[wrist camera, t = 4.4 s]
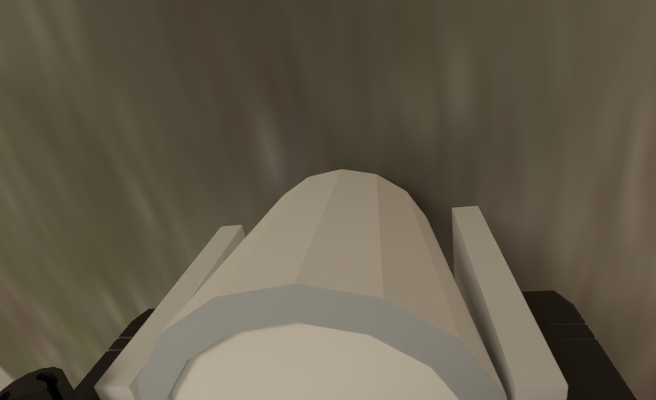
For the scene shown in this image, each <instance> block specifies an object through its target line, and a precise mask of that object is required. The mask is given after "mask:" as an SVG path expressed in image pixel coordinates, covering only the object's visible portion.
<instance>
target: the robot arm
mask: <svg viewBox="0 0 656 400" xmlns="http://www.w3.org/2000/svg"><path fill="white" fill-rule="evenodd" d="M452 225H453V255H454V280H455V282H456V284H457V286H458V288H459V291H460V293H461V295H462V297H463V300H464V302H465V304H466V306H467V308H468V311H469V313H470V315H471V317H472V320H473V322H474V324H475V326H476V328H477V331H478V333H479V335H480V337H481V340H482V342H483V344H484V346H485V348H486V351H487V353H488V355H489V357H490V360H491V362H492V364H493V366H494V368H495V371H496V373H497V375H498V377H499V380H500V382H501V384H502V386H503V388H504V391H505V393H506V395H507V400H637V399H636V398H635V397H634V395H633V394H632V392H631V391H630V389H629V388H628V386H627V385H626V383H625V382H624V380H623V379H622V377H621V376H620V374H619V373H618V371H617V370H616V368H615V367H614V365H613V364H612V362H611V361H610V359H609V358H608V356H607V355H606V353H605V352H604V350H603V349H602V347H601V346H600V344H599V343H598V341H597V340H595V338H594V335H593V333H592V332H591V330H590V329H589V327H588V326H587V325H585V321H584V320H583V318H582V317H581V315H580V314H579V312H578V311H577V309H576V308H575V306H574V305H573V304H572V303H570V302H569V301H568V300H566V299H565V298H564V297H562V296H561V295H559V294H558V293H557V292H555V291H531V292H521V291H520V289H519V287H518V285H517V283H516V281H515V279H514V277H513V275H512V273H511V271H510V269H509V267H508V265H507V263H506V261H505V259H504V257H503V255H502V253H501V251H500V249H499V247H498V245H497V243H496V241H495V239H494V237H493V235H492V233H491V231H490V229H489V227H488V225H487V223H486V221H485V219H484V217H483V215H482V213H481V211H480V209H479V207H478V206H469V207H457V208H452ZM245 238H246V237H245V233H244V230H243V226H242V225H234V226H221V228H220V229H219V230H218V231H217V233H216V234H215V235H214V236H213V238H212V239H211V240H210V241H209V243H208V244H207V245H206V246H205V248H204V249H203V250H202V251H201V253H200V254H199V255H198V256H197V258H196V259H195V260H194V261H193V263H192V264H191V265H190V266H189V268H188V269H187V270H186V272H185V273H184V274H183V275H182V277H181V278H180V279H179V280H178V282H177V283H176V284H175V285H174V287H173V288H172V289H171V290H170V292H169V293H168V294H167V295H166V297H165V298H164V299H163V300H162V302H161V303H160V304H159V305H158V307H157V308H156V309H148V310H147V311H145V312H144V313H143V314H141V315H140V316H139V317H137V318H136V319H135V320H133V321H132V322H131V323H130V324H129V325H128V327H127V328H126V329H125V330H124V331H123V333H122V334H121V335H120V336H119V339H117V340H116V341H115V342H114V343H113V344H112V346H111V347H110V348H109V352H106V353H105V354H104V355H103V356H102V357H101V359H100V360H99V361H98V362H97V363H96V365H95V366H94V367H93V368H92V369H91V371H90V372H89V373H88V374H87V375H86V376H85V378H84V379H83V380H82V381H81V382H80V384H79V385H78V386H77V387H76V388H75V390H73V388H72V386H71V385H70V383H69V381H68V379H67V377H66V376H65V374H64V372H63V370H62V369H59V368H56V367H50V368H43V369H39V370H36V371H34V372H31V373H28V374H26V375H24V376H23V377H21V378H19V379H17V380H16V381H14V382H12V383H11V384H9V385H8V386H7V387H6V388H4V389H3V390H2V391H1V392H0V400H141V396H140V389H139V381H138V380H139V378H140V376H141V373H142V371H143V369H144V367H145V365H146V363H147V361H148V358H149V356H150V354H151V352H152V350H153V348H154V346H155V344H156V341H157V339H158V337H159V335H160V333H161V332H162V331H163V330H164V328H165V327H166V326H167V325H168V324H169V323H170V322H171V321H172V320H173V318H174V317H175V316H176V315H177V314H178V313H179V312H180V311H181V309H182V308H183V307H184V306H185V305H186V304H187V303H188V302H189V300H190V299H191V298H192V297H193V296H194V295H195V294H196V293H197V291H198V290H199V289H200V288H201V287H202V286H203V285H204V284H205V282H206V281H207V280H208V279H209V278H210V277H211V276H212V275H213V274H214V272H215V271H216V270H217V269H218V268H219V267H220V266H221V265H222V263H223V262H224V261H225V260H226V259H227V258H228V257H229V256H230V254H231V253H232V252H233V251H234V250H235V249H236V248H237V247H238V245H239V244H240V243H241V242H242V241H243V240H244V239H245Z"/></svg>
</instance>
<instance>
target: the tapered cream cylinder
mask: <svg viewBox="0 0 656 400" xmlns="http://www.w3.org/2000/svg"><path fill="white" fill-rule="evenodd" d="M138 381H139V389H140V396H141V400H507V395H506V393H505V391H504V388H503V386H502V384H501V382H500V380H499V377H498V375H497V373H496V371H495V368H494V366H493V364H492V362H491V360H490V357H489V355H488V353H487V351H486V348H485V346H484V344H483V342H482V340H481V337H480V335H479V333H478V331H477V328H476V326H475V324H474V322H473V320H472V317H471V315H470V313H469V311H468V308H467V306H466V304H465V302H464V300H463V297H462V295H461V293H460V291H459V288H458V286H457V284H456V282H455V280H454V277H453V275H452V273H451V271H450V268H449V266H448V264H447V262H446V260H445V257H444V255H443V253H442V251H441V248H440V246H439V244H438V242H437V240H436V237H435V235H434V233H433V231H432V229H431V226H430V224H429V222H428V220H427V217H426V216H425V215H424V213H423V212H422V211H421V209H420V208H419V207H418V206H417V204H416V203H415V202H414V200H413V199H412V198H411V196H410V195H409V194H408V193H407V191H405V190H403V189H402V188H400V187H398V186H396V185H395V184H393V183H391V182H389V181H388V180H386V179H384V178H382V177H380V176H379V175H377V174H372V173H365V172H358V171H351V170H344V169H340V170H336V171H331V172H327V173H323V174H319V175H314V176H310V177H308V178H306V179H305V180H303V181H302V182H301V183H299V184H298V185H297V186H295V187H294V188H293V189H291V190H290V191H289V192H287V193H286V194H284V195H283V196H282V197H281V198H280V199H279V201H278V202H277V203H276V204H275V205H274V206H273V207H272V208H271V210H270V211H269V212H268V213H267V214H266V215H265V216H264V217H263V219H262V220H261V221H260V222H259V223H258V224H257V225H256V226H255V228H254V229H253V230H252V231H251V232H250V233H249V234H248V235H247V237H246V238H245V239H244V240H243V241H242V242H241V243H240V244H239V245H238V247H237V248H236V249H235V250H234V251H233V252H232V253H231V254H230V256H229V257H228V258H227V259H226V260H225V261H224V262H223V263H222V265H221V266H220V267H219V268H218V269H217V270H216V271H215V272H214V274H213V275H212V276H211V277H210V278H209V279H208V280H207V281H206V282H205V284H204V285H203V286H202V287H201V288H200V289H199V290H198V291H197V293H196V294H195V295H194V296H193V297H192V298H191V299H190V300H189V302H188V303H187V304H186V305H185V306H184V307H183V308H182V309H181V311H180V312H179V313H178V314H177V315H176V316H175V317H174V318H173V320H172V321H171V322H170V323H169V324H168V325H167V326H166V327H165V328H164V330H163V331H162V332H161V333H160V335H159V337H158V339H157V341H156V344H155V346H154V348H153V350H152V352H151V354H150V356H149V358H148V361H147V363H146V365H145V367H144V369H143V371H142V373H141V376H140V378H139V380H138Z"/></svg>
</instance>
